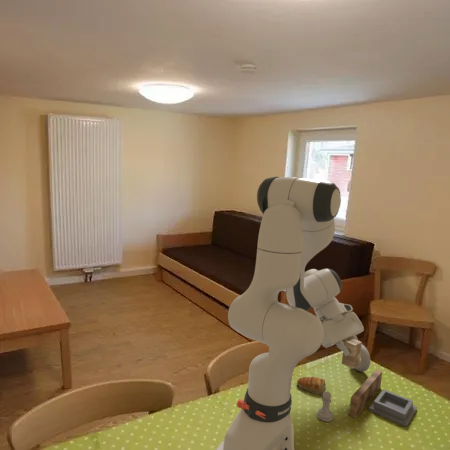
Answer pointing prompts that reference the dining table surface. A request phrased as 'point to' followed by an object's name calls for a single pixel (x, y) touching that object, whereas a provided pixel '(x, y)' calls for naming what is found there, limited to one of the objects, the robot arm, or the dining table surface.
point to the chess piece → (325, 408)
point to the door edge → (365, 393)
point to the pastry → (312, 384)
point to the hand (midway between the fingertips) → (353, 352)
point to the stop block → (352, 353)
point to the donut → (364, 360)
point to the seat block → (393, 407)
